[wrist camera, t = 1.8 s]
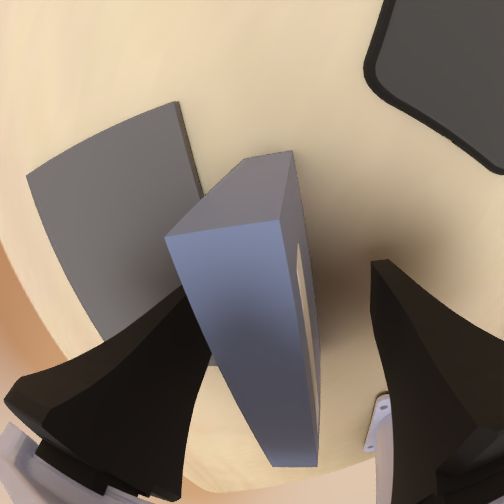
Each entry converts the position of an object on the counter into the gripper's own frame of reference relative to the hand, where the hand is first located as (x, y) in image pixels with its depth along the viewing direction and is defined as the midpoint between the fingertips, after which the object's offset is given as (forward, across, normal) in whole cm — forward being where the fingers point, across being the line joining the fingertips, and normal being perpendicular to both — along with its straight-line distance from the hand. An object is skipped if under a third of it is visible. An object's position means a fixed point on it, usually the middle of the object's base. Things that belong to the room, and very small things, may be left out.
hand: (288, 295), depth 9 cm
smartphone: (+2, -10, -11) cm, 15 cm away
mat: (+1, +7, -1) cm, 7 cm away
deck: (+2, 0, 0) cm, 2 cm away
